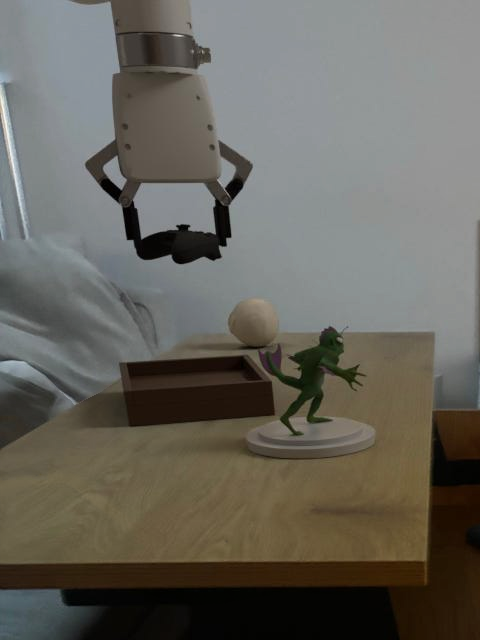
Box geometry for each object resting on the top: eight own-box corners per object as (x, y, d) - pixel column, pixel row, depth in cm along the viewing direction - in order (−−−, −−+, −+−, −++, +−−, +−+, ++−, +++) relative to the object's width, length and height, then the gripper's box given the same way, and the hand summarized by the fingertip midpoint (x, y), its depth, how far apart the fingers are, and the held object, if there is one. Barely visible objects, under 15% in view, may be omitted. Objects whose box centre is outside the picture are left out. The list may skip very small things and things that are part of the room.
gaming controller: (128, 250, 107) (159, 207, 108) (165, 285, 111) (194, 242, 112) (172, 255, 100) (204, 209, 101) (209, 291, 104) (240, 246, 105)
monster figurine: (399, 444, 91) (394, 330, 87) (281, 465, 85) (269, 343, 81) (337, 421, 100) (330, 316, 96) (226, 438, 94) (213, 327, 89)
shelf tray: (129, 426, 99) (123, 391, 97) (123, 393, 114) (118, 362, 112) (275, 414, 103) (271, 380, 102) (251, 384, 118) (248, 354, 117)
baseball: (233, 343, 147) (228, 296, 144) (282, 342, 147) (278, 295, 144) (227, 350, 141) (221, 301, 138) (279, 349, 141) (274, 300, 138)
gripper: (240, 65, 104) (256, 243, 112) (64, 59, 99) (94, 247, 106) (251, 58, 98) (267, 247, 105) (64, 52, 92) (95, 251, 100)
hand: (180, 246), depth 106 cm, fingers closed on gaming controller, 8 cm apart
